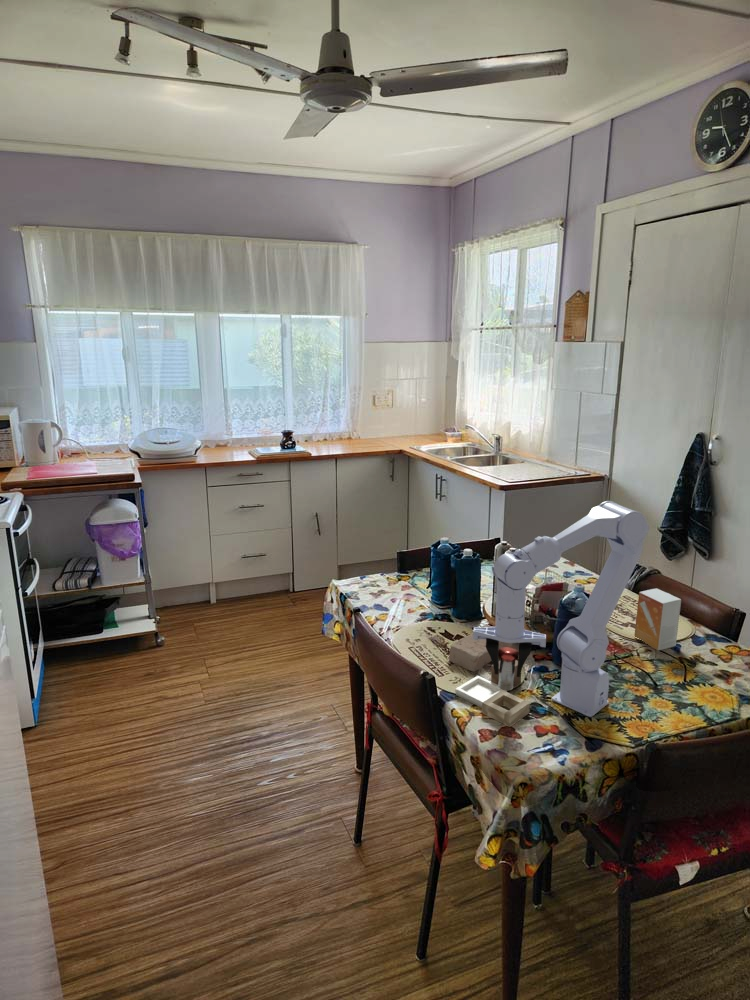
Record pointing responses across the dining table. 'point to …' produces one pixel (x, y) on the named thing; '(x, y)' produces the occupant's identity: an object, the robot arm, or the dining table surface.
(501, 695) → the socket block
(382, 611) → the dining table surface
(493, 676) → the brown rectangular block
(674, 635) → the small box
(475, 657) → the brick
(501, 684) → the pin
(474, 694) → the tray
